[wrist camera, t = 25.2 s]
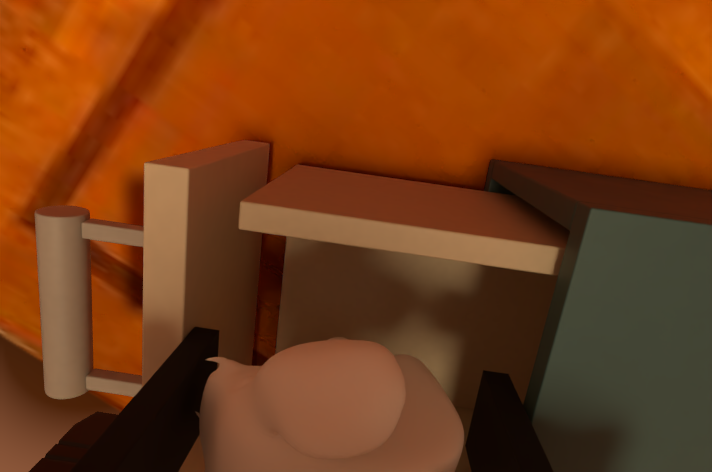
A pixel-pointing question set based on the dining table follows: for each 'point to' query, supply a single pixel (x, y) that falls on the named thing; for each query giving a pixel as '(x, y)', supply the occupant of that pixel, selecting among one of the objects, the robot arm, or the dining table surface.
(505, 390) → the robot arm
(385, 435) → the elephant figurine
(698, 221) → the cabinet
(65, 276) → the drawer
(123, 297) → the dining table surface
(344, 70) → the dining table surface
